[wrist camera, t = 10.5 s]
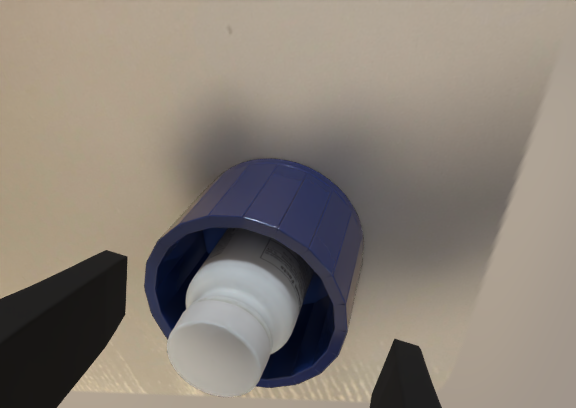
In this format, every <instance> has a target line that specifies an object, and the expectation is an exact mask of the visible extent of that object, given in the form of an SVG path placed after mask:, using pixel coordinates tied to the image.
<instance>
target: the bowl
mask: <svg viewBox="0 0 576 408" xmlns="http://www.w3.org/2000/svg"><path fill="white" fill-rule="evenodd" d="M228 228H243V229H246V230H249V231H252V232H255V233H258V234H261V235H264V236H267V237H270V238H273V239H275V240H277V241H278V242H280V243H281V244H283V245H284V246H286V247H287V248H289V249H291V250H292V251H294V252H295V253H297V254H298V255H300V256H301V257H302V258H303V259H304V260H305V262H306V263H307V264H308V265H309V266H310V267H311V268H312V269H313V270H314V272H313V275H312V278H311V281H310V284H309V287H308V289H307V292H306V295H305V298H304V301H303V304H302V307H301V309H300V312H299V315H298V318H297V321H296V324H295V326H294V329H293V331H292V334H291V336H290V338H289V339H288V341H287V342H286V343H285V344H284V346H283V347H281V348H280V349H279V350H278V351H276V352H274V353H273V354H270V357H269V360H268V362H267V365H266V367H265V369H264V371H263V373H262V376H261V378H260V380H259V382H258V384H257V385H256V386H257V387H265V388H269V387H270V388H274V387H282V386H290V385H296V384H299V383H302V382H304V381H306V380H308V379H310V378H313V377H315V376H317V375H319V374H320V373H322V372H323V371H324V370H325V369H326V368H327V367H328V366H329V365H330V364H331V363H332V362H333V361H334V360H335V359H336V358H337V357H338V355H339V354H340V351H341V348H342V346H343V343H344V340H345V338H346V335H347V332H348V327H349V323H350V318H351V313H352V309H353V304H354V299H355V295H356V290H357V285H358V281H359V276H360V271H361V267H362V262H363V250H364V237H363V231H362V226H361V223H360V220H359V218H358V215H357V213H356V211H355V209H354V207H353V205H352V204H351V203H350V201H349V200H348V198H347V197H346V195H345V194H344V193H343V192H342V191H341V190H340V189H339V188H338V187H337V186H336V185H335V184H334V183H333V182H331V181H330V180H329V179H328V178H326V177H325V176H323V175H322V174H320V173H319V172H317V171H315V170H313V169H311V168H309V167H307V166H304V165H301V164H299V163H296V162H291V161H287V160H281V159H257V160H250V161H247V162H243V163H240V164H238V165H235V166H233V167H231V168H229V169H228V170H226V171H225V172H223V173H222V174H221V175H220V176H219V177H217V178H216V179H215V180H214V181H213V182H212V183H211V184H210V185H209V186H208V187H207V188H206V189H205V190H204V191H203V192H202V193H201V194H200V195H199V196H198V197H197V199H196V200H195V201H194V202H193V203H192V204H191V205H190V206H189V207H188V208H187V209H186V210H185V212H184V213H183V214H182V215H181V216H180V217H179V218H178V219H177V220H176V221H175V222H174V224H173V225H172V226H171V227H170V228H169V229H168V230H167V231H166V232H165V233H164V234H163V236H162V237H161V238H160V239H159V240H158V241H157V243H156V245H155V247H154V249H153V251H152V252H151V254H150V256H149V258H148V260H147V263H146V271H145V284H144V288H145V293H146V297H147V300H148V304H149V307H150V311H151V313H152V316H153V317H154V319H155V321H156V322H157V324H158V325H159V327H160V329H161V330H162V332H163V334H164V335H165V337H167V339H168V338H169V335H170V333H171V331H172V330H173V328H174V327H175V325H176V324H177V322H178V321H179V319H180V317H181V315H182V313H183V312H184V311H185V310H186V294H187V290H188V287H189V284H190V283H191V281H192V279H193V278H194V276H195V274H196V273H197V272H198V270H199V269H200V267H201V266H202V264H203V263H204V262H205V260H206V259H207V257H208V256H209V255H210V253H211V252H212V250H213V249H214V248H215V246H216V245H217V243H218V242H219V240H220V239H221V238H222V236H223V235H224V233H225V232H226V230H227V229H228Z"/></svg>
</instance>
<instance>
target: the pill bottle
mask: <svg viewBox="0 0 576 408" xmlns="http://www.w3.org/2000/svg"><path fill="white" fill-rule="evenodd" d="M313 272H314V270H313V269H312V268H311V267H310V266H309V265H308V264H307V263H306V262H305V260H304V259H303V258H302V257H301V256H300V255H298V254H297V253H295V252H294V251H292V250H291V249H289V248H287V247H286V246H284V245H283V244H281V243H280V242H278V241H277V240H275V239H273V238H270V237H267V236H264V235H261V234H258V233H255V232H252V231H249V230H246V229H243V228H228V229H227V230H226V232H225V233H224V235H223V236H222V238H221V239H220V240H219V242H218V243H217V245H216V246H215V248H214V249H213V250H212V252H211V253H210V255H209V256H208V257H207V259H206V260H205V262H204V263H203V264H202V266H201V267H200V269H199V270H198V272H197V273H196V274H195V276H194V278H193V279H192V281H191V283H190V284H189V287H188V290H187V294H186V310H185V311H184V312H183V313H182V315H181V317H180V319H179V321H178V322H177V324H176V325H175V327H174V328H173V330H172V331H171V333H170V335H169V338H168V342H167V353H168V357H169V360H170V362H171V364H172V366H173V367H174V369H175V371H176V372H177V373H178V374H179V375H180V376H181V377H182V378H183V379H184V380H185V381H186V382H187V383H189V384H190V385H192V386H193V387H195V388H196V389H199V390H201V391H203V392H205V393H208V394H210V395H215V396H219V397H236V396H241V395H244V394H246V393H248V392H250V391H251V390H252V389H253V388H254V387H255V386H256V385H257V384H258V382H259V380H260V378H261V376H262V373H263V371H264V369H265V367H266V365H267V362H268V360H269V357H270V354H273V353H274V352H276V351H278V350H279V349H280V348H281V347H283V346H284V344H285V343H286V342H287V341H288V339H289V338H290V336H291V334H292V331H293V329H294V326H295V324H296V321H297V318H298V315H299V312H300V309H301V307H302V304H303V301H304V298H305V295H306V292H307V289H308V287H309V284H310V281H311V278H312V275H313Z"/></svg>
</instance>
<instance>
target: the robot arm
mask: <svg viewBox="0 0 576 408" xmlns="http://www.w3.org/2000/svg"><path fill="white" fill-rule="evenodd" d="M126 281H127V256H124V255H121V254H117V253H114V252H111V251H108V250H106V251H103V252H101V253H99V254H97V255H95V256H93V257H91V258H88V259H86V260H84V261H82V262H80V263H78V264H76V265H74V266H72V267H70V268H68V269H66V270H64V271H62V272H60V273H58V274H56V275H53V276H51V277H49V278H47V279H45V280H43V281H41V282H39V283H36V284H34V285H32V286H30V287H27V288H25V289H23V290H20V291H18V292H16V293H13V294H11V295H9V296H6V297H4V298H2V299H0V408H57V407H58V405H59V404H60V403H61V402H62V400H63V399H64V398H65V397H66V395H67V394H68V393H69V392H70V391H71V389H72V388H73V387H74V386H75V384H76V383H77V382H78V381H79V379H80V378H81V377H82V376H83V374H84V373H85V372H86V371H87V370H88V368H89V367H90V366H91V364H92V363H93V362H94V361H95V359H96V358H97V357H98V356H99V354H100V353H101V352H102V351H103V349H104V348H105V347H106V345H107V344H108V342H109V340H110V339H111V337H112V336H113V334H114V332H115V331H116V329H117V327H118V326H119V324H120V322H121V321H122V319H123V317H124V316H125V306H126ZM370 408H442V407H441V405H440V402H439V400H438V397H437V394H436V392H435V389H434V386H433V384H432V381H431V378H430V375H429V373H428V370H427V367H426V364H425V361H424V358H423V354H422V351H421V349H420V348H419V346H416V345H413V344H410V343H407V342H403V341H400V340H397V339H394V341H393V344H392V346H391V349H390V351H389V354H388V356H387V358H386V361H385V363H384V366H383V368H382V371H381V373H380V376H379V378H378V380H377V383H376V385H375V388H374V390H373V393H372V397H371V403H370Z"/></svg>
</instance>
